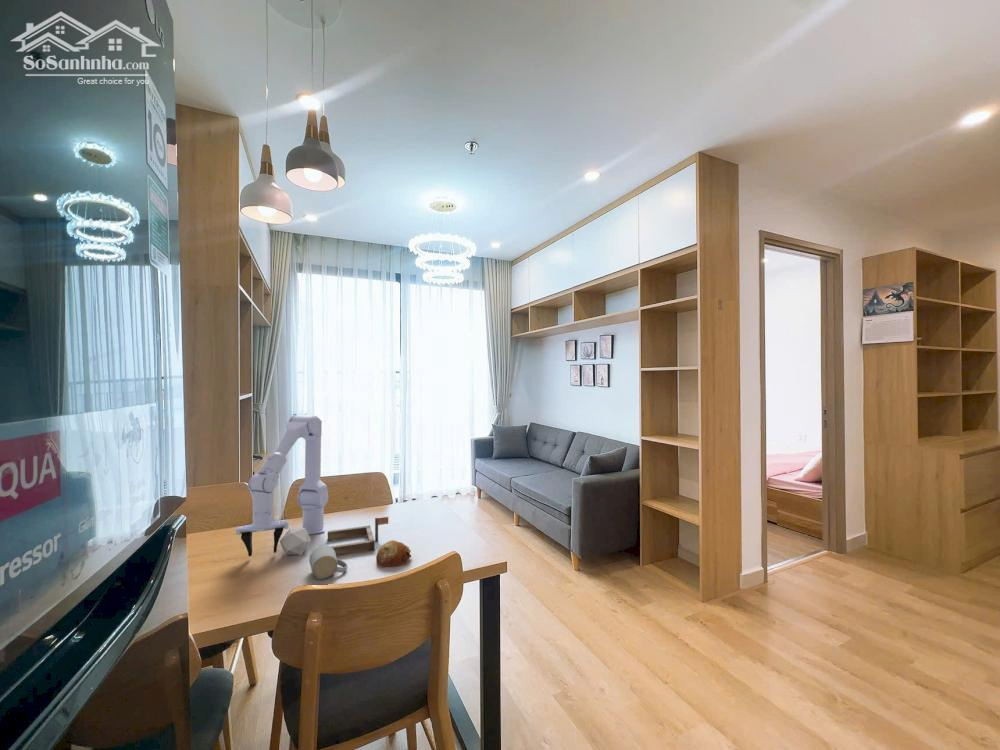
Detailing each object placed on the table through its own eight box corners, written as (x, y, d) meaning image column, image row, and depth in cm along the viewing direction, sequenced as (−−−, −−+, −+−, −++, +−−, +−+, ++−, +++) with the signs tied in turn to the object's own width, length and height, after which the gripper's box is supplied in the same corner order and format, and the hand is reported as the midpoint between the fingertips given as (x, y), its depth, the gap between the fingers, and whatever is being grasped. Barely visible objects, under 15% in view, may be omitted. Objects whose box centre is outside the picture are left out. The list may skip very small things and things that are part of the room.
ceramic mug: (311, 583, 118) (312, 557, 118) (308, 571, 125) (309, 546, 125) (349, 575, 123) (350, 550, 123) (344, 564, 130) (345, 540, 130)
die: (290, 563, 131) (310, 535, 134) (269, 547, 133) (289, 520, 136) (301, 561, 139) (320, 535, 142) (281, 547, 141) (300, 521, 144)
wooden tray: (327, 539, 149) (327, 517, 149) (385, 531, 156) (385, 510, 156) (327, 557, 134) (327, 532, 134) (391, 547, 142) (391, 524, 142)
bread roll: (388, 564, 137) (377, 542, 137) (416, 551, 137) (406, 529, 137) (378, 580, 127) (367, 556, 127) (409, 566, 127) (397, 541, 127)
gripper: (234, 518, 127) (234, 562, 127) (287, 512, 133) (287, 554, 133) (238, 510, 134) (238, 553, 134) (289, 505, 139) (289, 546, 139)
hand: (263, 553), depth 134 cm, fingers open, 6 cm apart
